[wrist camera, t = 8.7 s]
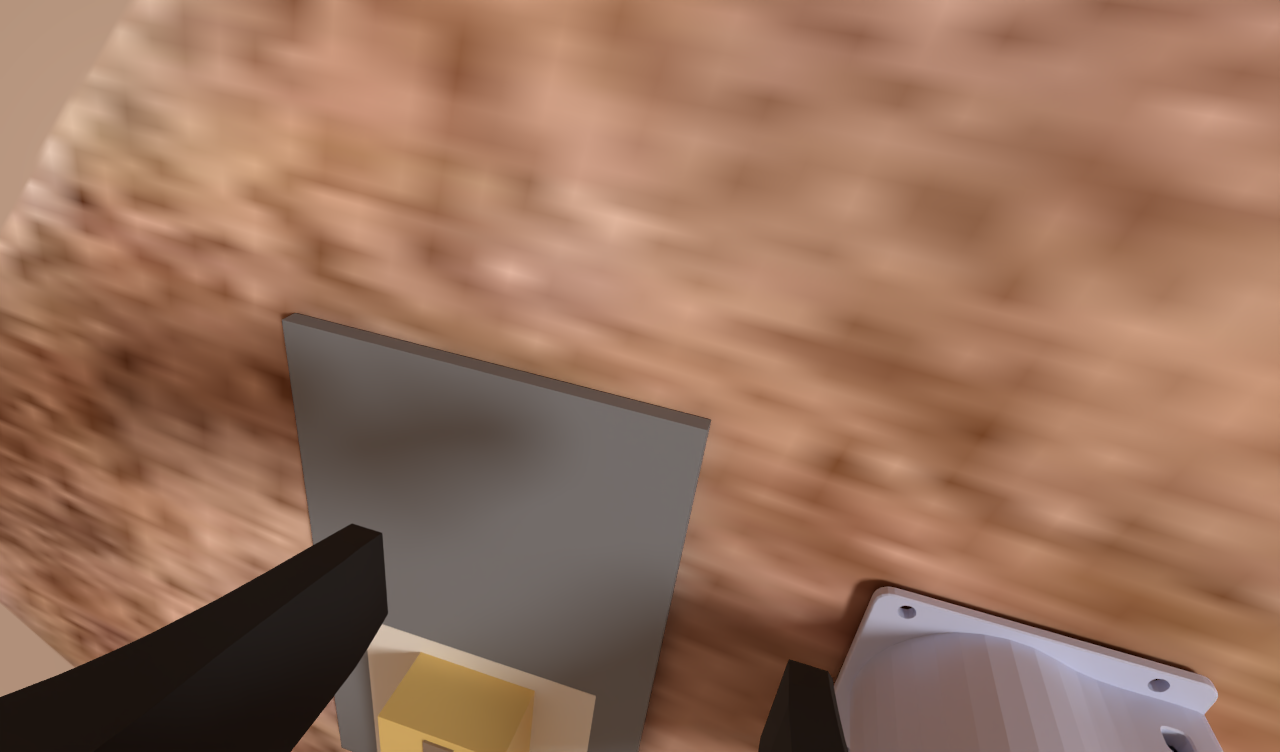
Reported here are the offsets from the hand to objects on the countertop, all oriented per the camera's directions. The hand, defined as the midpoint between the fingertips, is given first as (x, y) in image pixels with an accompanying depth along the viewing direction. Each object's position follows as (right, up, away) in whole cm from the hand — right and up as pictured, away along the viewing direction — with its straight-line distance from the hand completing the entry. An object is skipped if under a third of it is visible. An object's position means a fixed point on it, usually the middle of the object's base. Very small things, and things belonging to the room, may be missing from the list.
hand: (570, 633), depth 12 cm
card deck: (-6, -11, +18) cm, 22 cm away
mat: (-5, -5, +15) cm, 17 cm away
